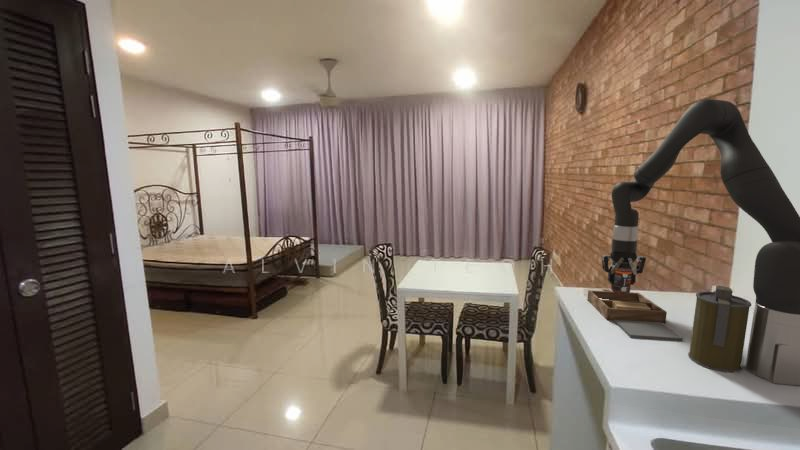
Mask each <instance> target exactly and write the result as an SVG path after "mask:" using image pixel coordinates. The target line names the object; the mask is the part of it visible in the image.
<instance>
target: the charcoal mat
mask: <svg viewBox="0 0 800 450" xmlns="http://www.w3.org/2000/svg"><path fill="white" fill-rule="evenodd" d="M614 323H615V324H616V325H617V326H618V328H620V329H621V330H622V331H623V332H624V333H625V334H626V335H627V336H628V337H629V338H632V339H633V338H635V339H636V338H637V339H650V340H665V341H681V342H682V341H683V338H682V337H683V336H682V337H681V336H680V335H679V334H677V332H675V331H673V330H672V329H671V328H669V327H668V326H667V325H666V324H663V323H662V322H646V321H629V320H615V321H614Z"/></svg>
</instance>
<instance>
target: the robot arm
mask: <svg viewBox="0 0 800 450" xmlns="http://www.w3.org/2000/svg"><path fill="white" fill-rule="evenodd" d="M700 134H701V135H708V136H709V137H710V138H711V139H712V141H713V142H714V144H715V145H716V147H717V149H718V151H719V154H720V179H721V181H722V183H723V185H724V187H725V189H726V191H727V193H728V194H729V196H730V199H732V201H733V202H734V203H735V205H737V206H738V207H739V208H740V209H741V210H742V211H743V212H744V213H745V214H747V215H748V216H750V218H752V220H755V221H756V222H757V223H758V224H759V225H760V226H761V227H762V229H764V231H765V232H766V234H767V235H768V237H769V238H770V240H771V242H769V243H766V244H765V245H763V246H762V247H761V248H760V249H759V250H758V252H757V254H756V257H755V260H754V261H755V263H754V269H753V270H754V271H753V282H752V286H753V287H752V288H753V292H754V294H755V301H754V302H755V303H754V308H753V316H752V320H751V321H752V323H751V326H750V327H751V328H750V334H749V340H748V348H747V352H746V353H747V355H746V362H745V368H746V369H747V371H749V372H750V373H752V374H753V375H755V376H758V377H760V378H762V379H764V380H767V381H769V382H771V383H773V384H779V385H790V386H800V215H799V213H798V212H797V210H796V208H795V206H794V205H793V203H792V201H791V200H790V198H789V197H788V196H787V194H786V192H785V190H784V189H783V187H782V186H781V183H780V182H779V180H778V178H777V176H776V175H775V173H774V171H773V170H772V168H771V167H770V165H769V164H768V162H767V161H766V159H765V158H764V157H763V154H762V153H761V152H760V149H759V148H758V146H757V145H756V143H755V142H754V140H753V139H752V137H751V134H750V133H749V130H748V128H747V126H746V124H745V121H744V118H743V117H742V114H741V112H740V110H739V108H738V106H736V105H735V104H734V103H732V102H730V101H728V100H722V99H721V100H720V99H714V98H713V99H712V98H703V99H700V100H698V101H695V102H694V103H692V104H691V105H690V106H689V107H687V109H686V110H685V112H684V113H683V114H682V116H681V117H680V118H679V119H678V121H677V122H676V123H675V125H674V126H673V128H672V129H671V130H670V132H669V133H668V134H667V135H666V137H665V138H664V139H663V141H662V142H661V143H660V145H659V146H658V147H657V148H656V149H655V150H654V151H653V153H652V154H650V155H649V156H648V158H647V159H645V160H644V162H642V164H640V165H639V166H638V168H636V170H635V172H634V173H633V178H634V180H633V181H621V182H618V183H616V184H615V185H614V186H613V188H612V190H611V201H612V205H613V206H612V207H613V210H614V226H613V230H612V239H611V240H612V241H611V242H612V243H611V253H610V254H607V255H606V254H602V255H601V264H602V265H601V267H602V271H604V272H605V273H607V281H608V283H609V284H610V285H611V284H614V272H615V271H616V269H618V267H619V266H620V264H621V263H622V262H627V263H629V268H630V269H631V270H632V276H631V286H632V285H634V284H636V277H637V275H638V274H643V273H644V272H643V271H644V268H645V264H646V260H647V257H645V256H642V255H637V249H638V238H639V227H638V226H639V218H640V217H639V216H640V215H639V213H640V212H639V211H638V210H637V209H635V208H632V205H631V203H634V202H639V201H641V200H643V199H644V198H646V196H647V195H648V194H649V193H650V191H651V190H652V188H654V186H655V184H656V183H657V182H658V181H659V180H660V179H661V178H663V176H665V175H666V174H667V173H668V172H669V171H670V170H671V169H672V168H673V166H674V165H675V163H676V161H677V160H678V157H679V155H680V153H681V151H682V150H683V149H684V147H686V145H687V144H689V142H691V141H692V140H694V138H696V137H697V136H699V135H700ZM610 259H611V260H612V262H611V263H610V265H609V262H610ZM635 261H636V262H637V263H636V266H635V264H634V262H635Z"/></svg>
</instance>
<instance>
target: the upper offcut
mask: <svg viewBox="0 0 800 450" xmlns="http://www.w3.org/2000/svg"><path fill="white" fill-rule="evenodd" d="M612 308H618V309H637V310H651V309H650V308H649V307H648V306H647V305H646V304H643V303H631V302H619V301H612Z"/></svg>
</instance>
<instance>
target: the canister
mask: <svg viewBox="0 0 800 450" xmlns="http://www.w3.org/2000/svg"><path fill="white" fill-rule="evenodd" d="M695 297H696V300H695V301H696V302H695V307H694V308H695V309H694V315H693V324H692V330H691V331H692V332H691V339H690V345H689V352H688V353H687V354H688V355H687V356H688V358H689V359H691V361H692V362H695V364H698V365H700V366H702V367H705V368H707V369H710V370H714V371H717V372H723V373H739V372H740V371H742V359H743V353H744V347H745V340H746V333H747V327H748V326H747V325H748V319H749V313H750V307H752V302H751V301H750V300H747V299H745V298H743V297H740V296H738V295H737V296H736V295H733V289H732V288H730V286H722V285H717V286H715V290H713V291H699V292H696V294H695Z"/></svg>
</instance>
